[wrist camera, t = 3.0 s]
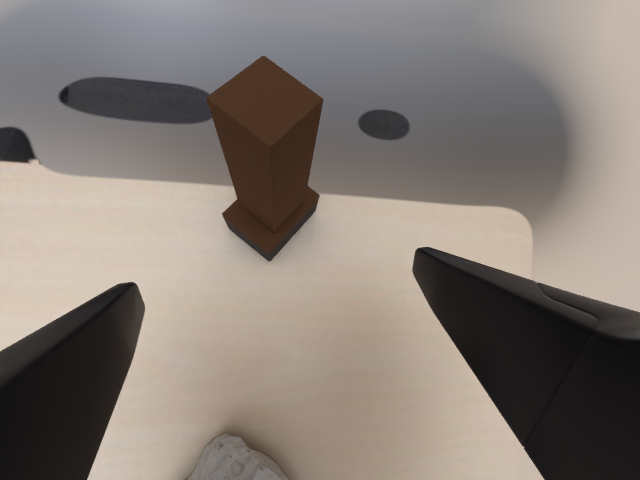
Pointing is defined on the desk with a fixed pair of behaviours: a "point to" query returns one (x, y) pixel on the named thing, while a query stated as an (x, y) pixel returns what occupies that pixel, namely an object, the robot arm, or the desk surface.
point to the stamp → (267, 152)
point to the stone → (234, 462)
